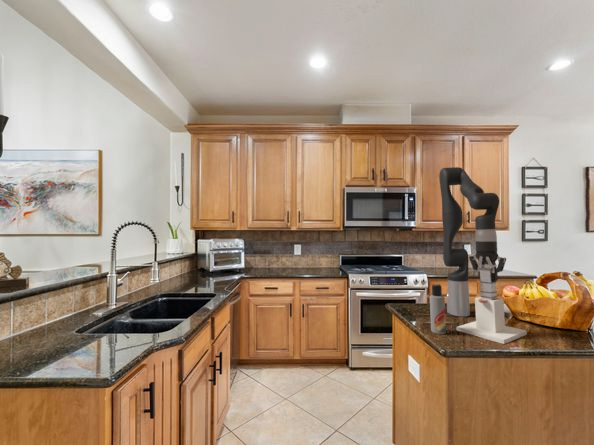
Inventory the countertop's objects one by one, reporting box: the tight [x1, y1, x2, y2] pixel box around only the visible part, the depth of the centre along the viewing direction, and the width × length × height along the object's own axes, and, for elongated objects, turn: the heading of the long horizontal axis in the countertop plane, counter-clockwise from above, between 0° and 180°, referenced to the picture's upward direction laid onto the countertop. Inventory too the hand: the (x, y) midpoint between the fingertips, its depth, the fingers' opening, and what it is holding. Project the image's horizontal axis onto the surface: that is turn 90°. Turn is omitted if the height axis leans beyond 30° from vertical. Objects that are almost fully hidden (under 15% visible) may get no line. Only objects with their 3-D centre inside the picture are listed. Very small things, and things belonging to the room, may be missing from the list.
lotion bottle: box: [429, 283, 447, 335], centre depth 121 cm, size 6×6×20 cm
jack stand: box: [456, 296, 528, 345], centre depth 119 cm, size 18×18×14 cm
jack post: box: [479, 266, 498, 300], centre depth 119 cm, size 5×5×20 cm
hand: (487, 281), depth 119 cm, fingers closed on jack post, 4 cm apart
